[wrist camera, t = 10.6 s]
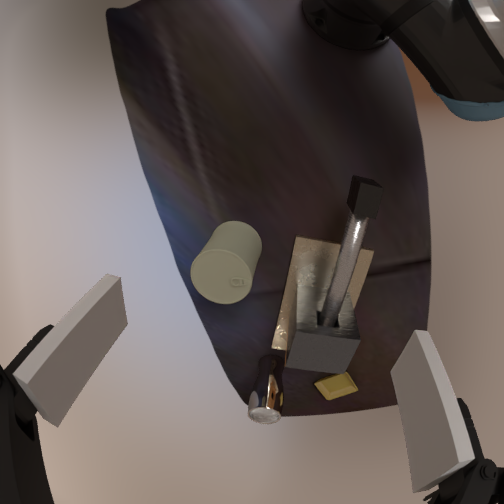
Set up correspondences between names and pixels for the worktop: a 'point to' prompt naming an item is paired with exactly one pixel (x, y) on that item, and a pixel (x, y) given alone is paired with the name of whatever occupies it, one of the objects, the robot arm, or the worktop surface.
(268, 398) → the beer glass
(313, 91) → the worktop surface
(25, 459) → the robot arm
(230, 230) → the can
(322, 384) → the saucer
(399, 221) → the worktop surface
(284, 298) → the block
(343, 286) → the shaft
